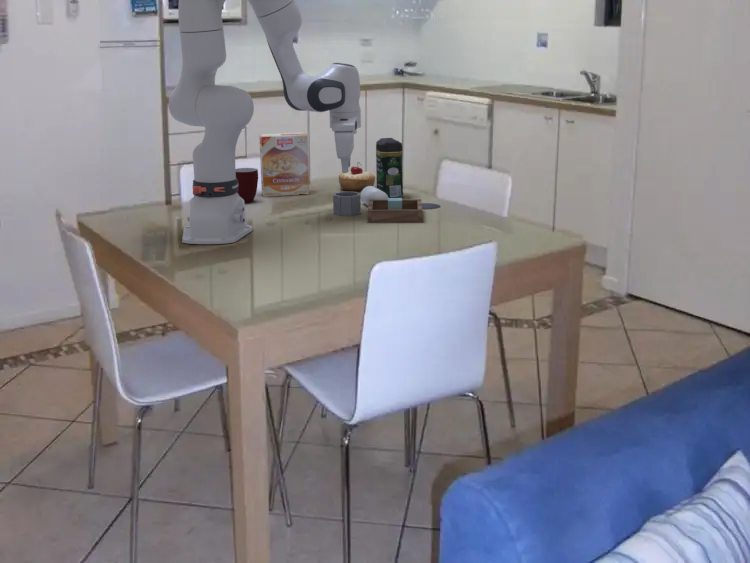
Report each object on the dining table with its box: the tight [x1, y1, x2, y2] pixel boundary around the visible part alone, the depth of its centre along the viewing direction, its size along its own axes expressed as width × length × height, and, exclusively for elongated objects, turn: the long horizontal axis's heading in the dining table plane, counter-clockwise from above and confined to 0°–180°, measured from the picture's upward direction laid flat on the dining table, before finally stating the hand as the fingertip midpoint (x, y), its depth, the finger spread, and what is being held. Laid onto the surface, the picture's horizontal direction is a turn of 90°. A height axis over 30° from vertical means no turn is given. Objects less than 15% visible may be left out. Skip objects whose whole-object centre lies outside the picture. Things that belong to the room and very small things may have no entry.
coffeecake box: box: [258, 131, 310, 198], centre depth 296 cm, size 15×7×20 cm, turn 103°
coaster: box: [422, 202, 441, 211], centre depth 275 cm, size 9×9×1 cm
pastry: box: [338, 161, 376, 192], centre depth 304 cm, size 12×12×9 cm
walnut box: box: [366, 198, 423, 224], centre depth 261 cm, size 15×15×4 cm
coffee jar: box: [375, 137, 404, 198], centre depth 290 cm, size 10×8×19 cm
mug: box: [235, 167, 259, 204], centre depth 287 cm, size 10×8×10 cm
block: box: [388, 197, 403, 210], centre depth 261 cm, size 4×4×5 cm
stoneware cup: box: [332, 191, 362, 216], centre depth 267 cm, size 8×8×6 cm
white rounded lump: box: [360, 185, 388, 207], centre depth 276 cm, size 9×6×6 cm
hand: (346, 169), depth 264 cm, fingers open, 8 cm apart
